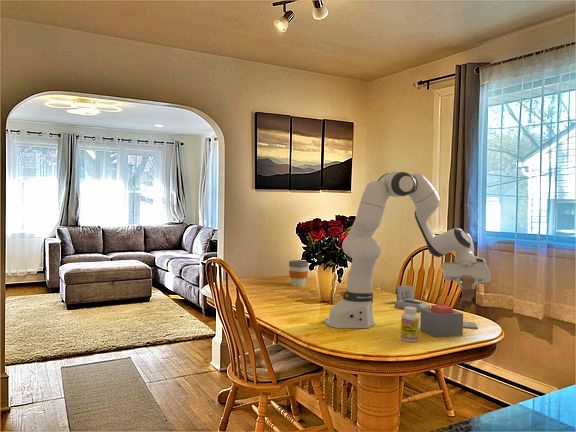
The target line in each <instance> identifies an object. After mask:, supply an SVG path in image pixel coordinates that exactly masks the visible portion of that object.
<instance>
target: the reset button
mask: <svg viewBox="0 0 576 432" xmlns="http://www.w3.org/2000/svg"><path fill="white" fill-rule="evenodd" d="M430 308H431V310H432V311H434V312H437V313H439V314H441V313H453V310H454V308H453V307H451V306H449V305H447V304H430Z"/></svg>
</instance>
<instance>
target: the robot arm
mask: <svg viewBox="0 0 576 432" xmlns="http://www.w3.org/2000/svg"><path fill="white" fill-rule="evenodd" d="M406 196H409V198H410V199H411V201H412V202H413V204H414V206H415V211H414V219H415V220H416V223H417V226H418V228H419V230H420V232H421V234H422V236H423V239H424V240H425V244H426V247H427V250H428V252H429V254H430V255H431V256H434V257H436V258H441V257H443V256H445V255H447V254H449V253H452V252H454V254H455V256H454V262H453V261H452V262H450V261H445V262H443V263H442V264H441V269H442V270H443V271H442V279H443V280H444V281H453V282H454V281H455V283H456V284H457V285H458V288H459V289H462V288H463V283H462V280H463V275H467V276H472V290H476V285H477V283H489V282H491V277H492V276H491V271H490V268H489V266H488V265H487V261H486V259H484V258H480V257H478V256H475V246H474V241H473V238H472V236H471V234H469V233H468V232H466V231H465V230H463V229H461V228H460V227H459V228H458V227H455V228H451V229H449V230H447V231H445V232H442V233H439V234H435V233H434V232H433V230H432V228H431V225H430V223H429V218H430V217H431V216H432V215H433V214H434V213H435V212H436V211H437V209H438V207H439V206H440V202H441V201H440V196H439V194H438V192H437V190H436V189H435V187H434V186H433V185H432V183H431V182H430V181H429V180H428V179H427V178H426V176H424V175H423V174H421V173H420V172H419V173H418V172H416V173H412V174H410V173H408V172H406V171H405V172H404V171H392V172H386V173H384V174H383V175H381V176H380V177H379V178H378V179H377V180H373V181H370V182H368V183H367V184H366V186H365V188H364V191H363V193H362V195H361V198H360V201H359V204H358V205H359V206H358V208H357V211H356V215H355V219H354V221H353V224H352V226H351V228H350V229H349V232H348V234H347V235H346V237H345V238H344V239H343V241H342V243H341V244H342V245H341V246H342V250H343V252H344V253H345V255H346V256H347V257H349V258H350V259H351V258H352V260H351V266H350V268H349V270H348V271H347V278H346V279H347V282H346V290H345V291H344V290H343V291H342V290H339V292H338V294H339V296H342V299H341V300H339V302H337V303H336V304H335V305H333V306H331V308H330V310H329V314H328V317H325V318H324V319H323V323H324V324H325V325H327V326H328V327H331V328H334V329H370V328H371V327H372V326H374V325H375V324H376V323H375V318H374V313H373V302H374V292H373V276H374V272H375V271H374V270H375V267H376V265H377V264H376V263H377V260H378V258H380V256H381V254H382V247H381V244H380V243H379V242H378V241H377V240H376V239H375V238H373V236H374V234H375V232H376V231H377V230H378V229H379V227H380V226H381V223H382V218H383V216H384V215H383V214H384V211H385V207H386V204H387V203H386V202H387V201H388V199H389V198H390V197H393V198H397V197H398V198H399V197H406Z"/></svg>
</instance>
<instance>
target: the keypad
mask: <svg viewBox="0 0 576 432" xmlns="http://www.w3.org/2000/svg"><path fill="white" fill-rule="evenodd" d="M407 306H410V307H416V308H417V311H416V313H417V312H418V313H421V309H429V308H431V304H429V303H427V302H423V301H416V300H415V301H412V300H407V299H404V300H401V301H398V302H397V301H396V302H395V303H394V308H397V309H401V310H404V308H405V307H407Z"/></svg>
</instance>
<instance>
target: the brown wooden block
mask: <svg viewBox="0 0 576 432" xmlns="http://www.w3.org/2000/svg"><path fill="white" fill-rule="evenodd" d="M461 283H463V288H461V300H462V302H467V303H468V302H470V303H471V302H472V299H473V297H472V295H473V289H472V284H473V282H472V276H467V275H463V280H462V281H461Z"/></svg>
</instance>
